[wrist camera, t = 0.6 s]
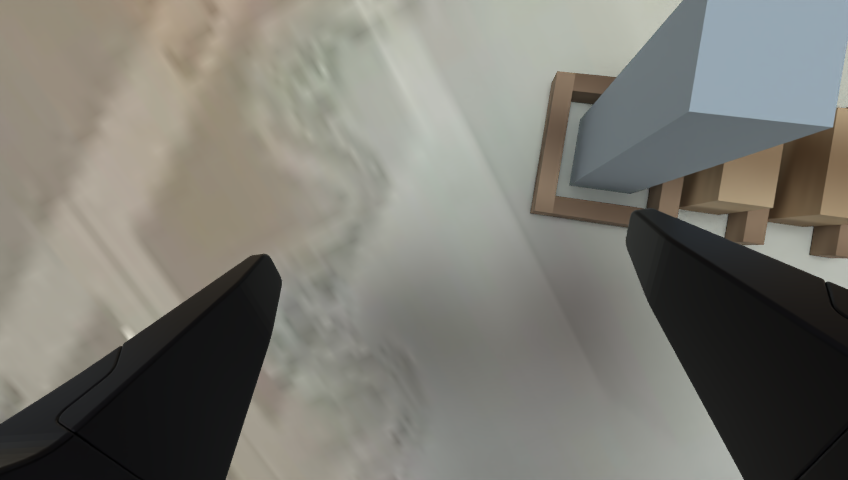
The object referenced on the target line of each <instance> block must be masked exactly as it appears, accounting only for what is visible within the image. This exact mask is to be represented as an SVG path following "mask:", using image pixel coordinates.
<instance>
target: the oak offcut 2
mask: <svg viewBox="0 0 848 480" xmlns="http://www.w3.org/2000/svg"><path fill="white" fill-rule="evenodd" d="M768 222H773V223H780V224H787V225H794V226H801V227H808V226H825V225H842V224H848V109H846V108H836V112H835V118H834V124H833V128H829V129H826V130H823V131H820V132H817V133H814V134H811V135H808V136H805V137H802V138H799V139H796V140H793V141H790V142H787V143H784V145H783V151H782V157H781V163H780V169H779V175H778V181H777V187H776V193H775V199H774V205H773V208H770V210H769V216H768Z"/></svg>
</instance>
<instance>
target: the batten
mask: <svg viewBox="0 0 848 480" xmlns="http://www.w3.org/2000/svg"><path fill="white" fill-rule="evenodd" d="M847 41H848V0H683V1H682V2H681V3H680V4H679V6H678V7H677V8H676V9H675V10H674V11H673V13H672V14H671V15H670V16H669V17H668V18H667V20H666V21H665V22H664V23H663V24H662V25H661V26H660V28H659V29H658V30H657V31H656V32H655V33H654V35H653V36H652V37H651V38H650V39H649V40H648V42H647V43H646V44H645V45H644V46H643V47H642V49H641V50H640V51H639V52H638V53H637V54H636V55H635V57H634V58H633V59H632V60H631V61H630V62H629V64H628V65H627V66H626V67H625V68H624V69H623V71H622V72H621V73H620V74H619V75H618V76H617V78H616V79H615V80H614V81H613V82H612V83H611V84H610V86H609V87H608V88H607V89H606V90H605V91H604V93H603V94H602V95H601V96H600V97H599V98H598V100H597V101H596V102H595V103H594V104H593V105H592V106H591V108H590V109H589V110H588V111H587V112H586V113H585V115H584V116H583V117H582V118H581V119H580V125H579V131H578V137H577V143H576V149H575V155H574V161H573V167H572V173H571V179H570V185H571V186H578V187H586V188H593V189H600V190H607V191H615V192H622V193H629V194H631V193H634V192H637V191H640V190H643V189H646V188H650V187H653V186H656V185H659V184H662V183H665V182H668V181H671V180H674V179H677V178H680V177H683V176H686V175H689V174H692V173H695V172H698V171H701V170H704V169H707V168H711V167H714V166H717V165H720V164H723V163H726V162H729V161H732V160H735V159H738V158H741V157H744V156H747V155H750V154H753V153H756V152H759V151H762V150H765V149H768V148H772V147H775V146H778V145H781V144H784V143H787V142H790V141H793V140H796V139H799V138H802V137H805V136H808V135H811V134H814V133H817V132H820V131H823V130H826V129H829V128H833V124H834V118H835V112H836V106H837V100H838V94H839V88H840V82H841V76H842V71H843V65H844V59H845V53H846V47H847Z"/></svg>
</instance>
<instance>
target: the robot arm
mask: <svg viewBox="0 0 848 480" xmlns="http://www.w3.org/2000/svg"><path fill="white" fill-rule="evenodd" d="M626 246H627V250H628V252H629V255H630V257H631V260H632V263H633V265H634V268H635V270H636V273H637V275H638V278H639V281H640V283H641V286H642V288H643V291H644V294H645V296H646V298H647V301H648V303H649V305H650V307H651V309H652V311H653V313H654V314H655V316H656V318H657V320H658V322H659V324H660V325H661V327H662V329H663V331H664V333H665V335H666V337H667V338H668V340H669V342H670V344H671V346H672V348H673V349H674V351H675V353H676V355H677V357H678V359H679V361H680V362H681V364H682V366H683V368H684V370H685V372H686V373H687V375H688V377H689V379H690V381H691V383H692V385H693V386H694V388H695V390H696V392H697V394H698V396H699V397H700V399H701V401H702V403H703V405H704V407H705V408H706V410H707V412H708V414H709V416H710V418H711V420H712V421H713V423H714V425H715V427H716V429H717V431H718V432H719V434H720V436H721V438H722V440H723V442H724V444H725V445H726V447H727V449H728V451H729V453H730V455H731V456H732V458H733V460H734V462H735V464H736V466H737V468H738V469H739V471H740V473H741V475H742V477H743V479H744V480H848V289H845V288H843V287H841V286H838V285H836V284H834V283H831V282H826V283H825V281H824V280H823V279H821V278H819V277H817V276H814V275H812V274H809V273H807V272H805V271H802V270H800V269H797V268H795V267H793V266H790V265H788V264H785V263H783V262H781V261H778V260H776V259H773V258H771V257H769V256H766V255H764V254H761V253H759V252H757V251H754V250H752V249H749V248H747V247H745V246H742V245H740V244H737V243H735V242H733V241H730V240H728V239H725V238H723V237H721V236H718V235H716V234H713V233H711V232H709V231H706V230H704V229H701V228H699V227H697V226H694V225H692V224H689V223H687V222H685V221H682V220H680V219H677V218H675V217H673V216H670V215H668V214H665V213H663V212H661V211H658V210H656V209H653V208H647V209H639V210H634V211H633V212H632V213H631V215H630V220H629V225H628V231H627V236H626ZM281 287H282V280H281V277H280V274H279V273H278V271H277V269H276V267H275V265H274V263H273V261H272V259H271V258H270V256H269V255H267V254H259V255H252V256H250V257H248V258H247V259H245V260H244V261H242V262H241V263H240V264H238V265H237V266H235V267H234V268H232V269H231V270H229V271H228V272H227V273H225V274H224V275H222V276H221V277H219V278H218V279H216V280H215V281H214V282H212V283H211V284H209V285H208V286H206V287H205V288H203V289H202V290H201V291H199V292H198V293H196V294H195V295H193V296H192V297H190V298H189V299H188V300H186V301H185V302H183V303H182V304H180V305H179V306H177V307H176V308H174V309H173V310H172V311H170V312H169V313H167V314H166V315H164V316H163V317H161V318H160V319H159V320H157V321H156V322H154V323H153V324H151V325H150V326H148V327H147V328H146V329H144V330H143V331H141V332H140V333H138V334H137V335H135V336H134V337H133V338H131V339H130V340H128V341H127V342H125V343H124V344H123V346H119V347H118V348H117V349H115V350H114V351H112V352H111V353H109V354H108V355H106V356H105V357H104V358H102V359H101V360H99V361H98V362H96V363H95V364H93V365H92V366H90V367H89V368H87V369H86V370H84V371H83V372H81V373H80V374H78V375H77V376H75V377H74V378H72V379H70V380H69V381H67V382H66V383H64V384H63V385H61V386H60V387H58V388H56V389H55V390H53V391H52V392H50V393H49V394H47V395H46V396H44V397H42V398H41V399H39V400H38V401H36V402H34V403H33V404H31V405H30V406H28V407H26V408H25V409H23V410H22V411H20V412H19V413H17V414H15V415H14V416H12V417H11V418H9V419H7V420H6V421H4V422H3V423H1V424H0V480H226V477H227V474H228V470H229V467H230V464H231V461H232V458H233V455H234V452H235V449H236V445H237V442H238V439H239V436H240V433H241V430H242V427H243V424H244V420H245V417H246V414H247V411H248V408H249V405H250V402H251V399H252V396H253V392H254V389H255V386H256V383H257V380H258V377H259V374H260V371H261V367H262V364H263V361H264V358H265V355H266V352H267V349H268V346H269V342H270V339H271V335H272V331H273V327H274V322H275V317H276V312H277V307H278V302H279V297H280V292H281Z"/></svg>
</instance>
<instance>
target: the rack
mask: <svg viewBox="0 0 848 480" xmlns="http://www.w3.org/2000/svg"><path fill="white" fill-rule="evenodd" d="M616 78H617V77H608V76H599V75H589V74H579V73H569V72H559V71H557V73H556V75H555V77H554V79H553V81H552V85H551V91H550V97H549V103H548V109H547V115H546V121H545V127H544V133H543V139H542V145H541V151H540V157H539V164H538V170H537V176H536V182H535V188H534V194H533V200H532V206H531V212H530V213H533V214H540V215H547V216H553V217H560V218H567V219H573V220H580V221H587V222H594V223H600V224H607V225H614V226H620V227H627V228H628V225H629V220H630V215H631V213H632V212H633V211H634V210H639V209H644V208H637V207H630V206H623V205H616V204H609V203H602V202H595V201H588V200H580V199H573V198H566V197H559V196H555V195H556V189H557V183H558V177H559V171H560V165H561V159H562V153H563V147H564V140H565V134H566V128H567V122H568V116H569V110H570V104H571V102H580V103H589V104H594V103H595V102H596V101H597V100H598V98H599V97H600V96H601V95H602V94H603V93H604V91H605V90H606V89H607V88H608V87H609V86H610V84H611V83H612V82H613V81H614V80H615V79H616ZM846 109H848V107H847V108H846ZM683 180H684V176H683V177H680V178H677V179H674V180H671V181H668V182H665V183H662V184H659V185H656V186H653V187H650V191H649V197H648V203H647V208H653V209H656V210H658V211H661V212H663V213H665V214H668V215H670V216H673V217H675V218H677V216H678V210H679V204H680V198H681V192H682V186H683ZM769 210H770V208H768V209H760V210H752V211H744V212H736V213H729V216H728V222H727V228H726V234H725V239H728V240H730V241H733V242H735V243H737V244H741V245H764V240H765V234H766V228H767V222H768V216H769ZM810 255H815V256H821V257H828V258H848V224H842V225H825V226H814V232H813V238H812V244H811V250H810Z"/></svg>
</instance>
